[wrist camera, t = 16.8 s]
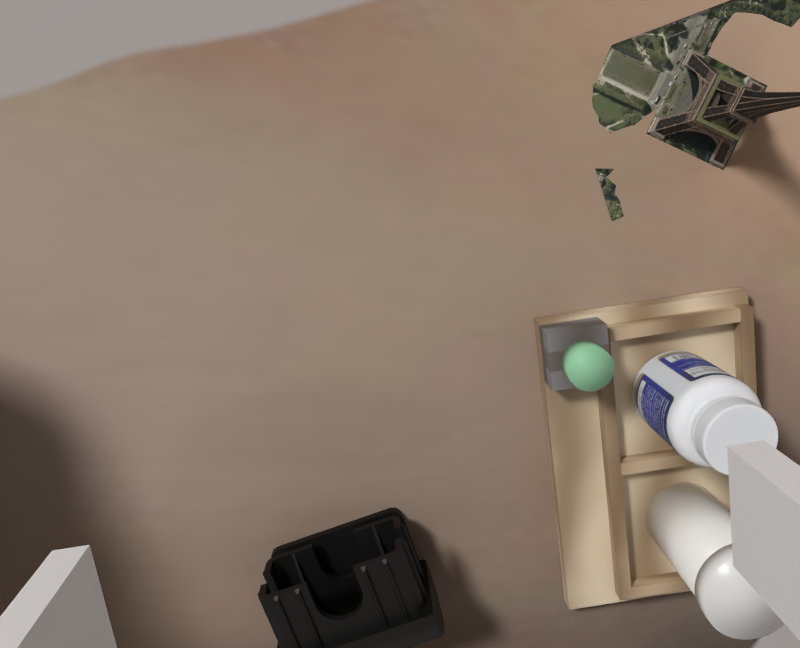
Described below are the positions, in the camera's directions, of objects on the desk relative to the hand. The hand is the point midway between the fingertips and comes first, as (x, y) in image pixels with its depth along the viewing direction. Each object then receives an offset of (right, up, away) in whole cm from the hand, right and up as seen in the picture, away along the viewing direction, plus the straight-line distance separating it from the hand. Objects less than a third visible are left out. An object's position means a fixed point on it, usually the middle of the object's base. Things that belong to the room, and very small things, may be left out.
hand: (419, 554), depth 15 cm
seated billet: (+18, -8, +34) cm, 39 cm away
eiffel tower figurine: (+18, +18, +30) cm, 39 cm away
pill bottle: (+17, +1, +32) cm, 36 cm away
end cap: (-4, -12, +35) cm, 38 cm away
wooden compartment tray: (+16, -4, +34) cm, 38 cm away
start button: (+10, +3, +30) cm, 32 cm away
